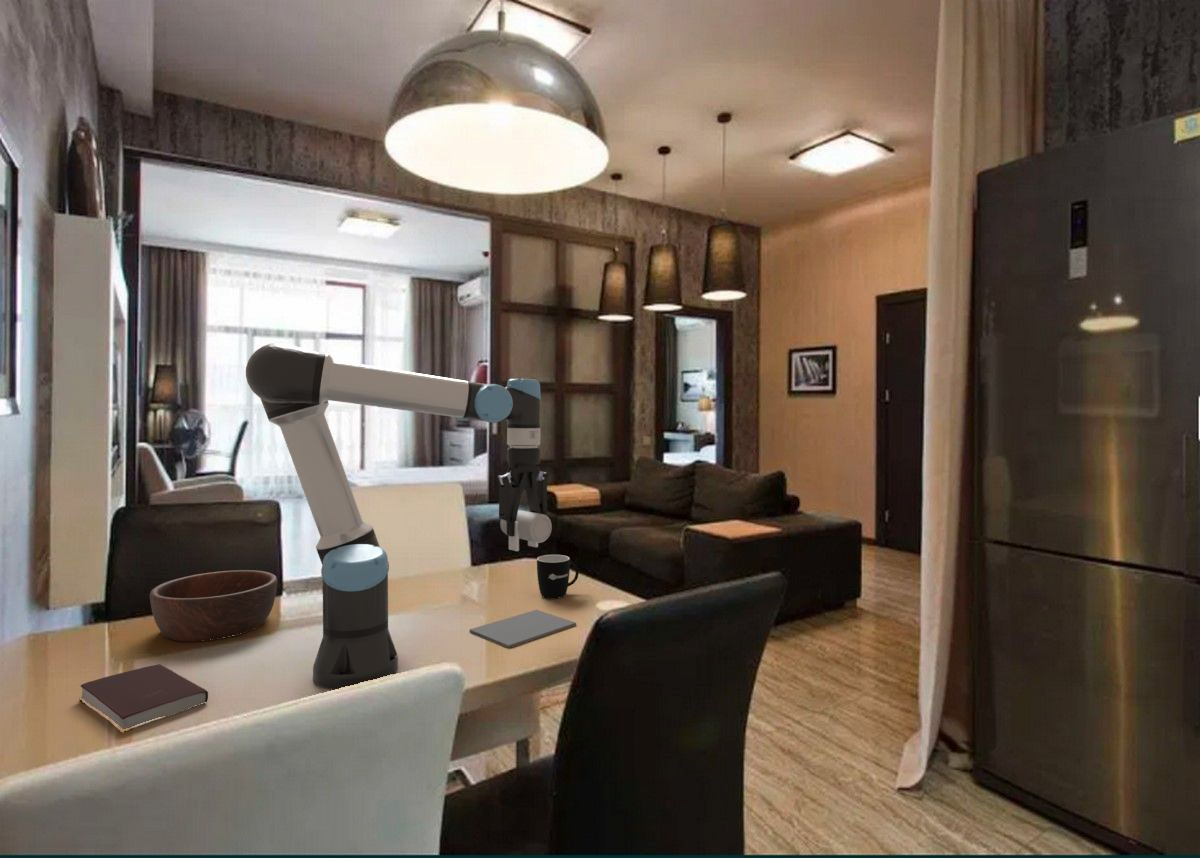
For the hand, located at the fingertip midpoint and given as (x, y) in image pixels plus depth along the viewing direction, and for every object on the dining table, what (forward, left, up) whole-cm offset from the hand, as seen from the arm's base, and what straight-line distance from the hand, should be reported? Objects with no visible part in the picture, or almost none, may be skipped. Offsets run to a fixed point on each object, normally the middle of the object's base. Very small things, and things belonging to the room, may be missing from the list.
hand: (523, 547), depth 146 cm
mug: (+24, +14, -19) cm, 34 cm away
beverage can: (0, -7, +5) cm, 8 cm away
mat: (0, 0, -19) cm, 19 cm away
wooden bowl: (-48, +51, -19) cm, 73 cm away
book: (-69, +19, -19) cm, 74 cm away
